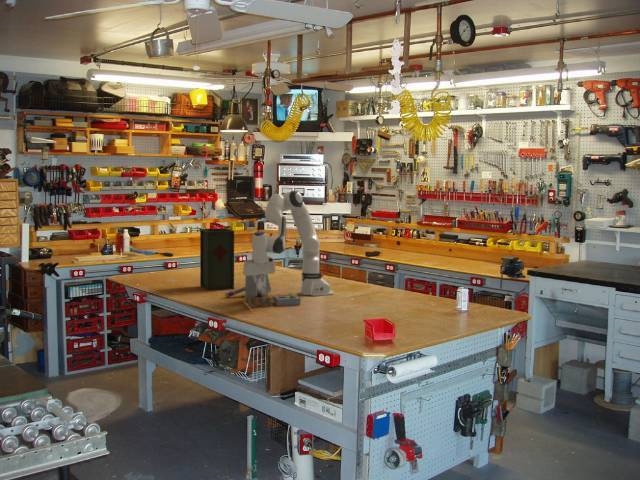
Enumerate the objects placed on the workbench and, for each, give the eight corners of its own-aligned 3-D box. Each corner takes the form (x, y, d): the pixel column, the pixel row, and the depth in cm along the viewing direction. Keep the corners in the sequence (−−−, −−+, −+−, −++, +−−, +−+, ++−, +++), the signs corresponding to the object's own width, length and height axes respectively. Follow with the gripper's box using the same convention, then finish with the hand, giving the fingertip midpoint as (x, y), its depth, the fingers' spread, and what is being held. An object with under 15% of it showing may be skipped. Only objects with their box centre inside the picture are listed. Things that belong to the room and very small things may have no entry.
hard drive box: (256, 303, 399) (256, 271, 397) (244, 302, 401) (244, 270, 399) (266, 298, 413) (266, 267, 411) (255, 297, 416) (255, 267, 414)
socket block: (296, 303, 401) (296, 295, 401) (300, 306, 392) (300, 298, 391) (273, 304, 397) (274, 296, 397) (277, 307, 388) (277, 299, 387)
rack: (267, 304, 396) (267, 294, 396) (270, 307, 387) (270, 298, 386) (247, 305, 393) (248, 295, 392) (250, 308, 383) (250, 298, 383)
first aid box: (225, 284, 460) (226, 228, 456) (234, 289, 444) (234, 230, 439) (200, 286, 452) (200, 228, 448) (207, 290, 436) (207, 231, 431)
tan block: (294, 302, 398) (294, 292, 398) (296, 303, 393) (296, 293, 393) (290, 302, 397) (290, 292, 397) (292, 303, 393) (292, 294, 392)
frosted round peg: (260, 295, 391) (259, 275, 390) (263, 295, 388) (262, 275, 388) (255, 295, 389) (255, 275, 388) (258, 296, 386) (258, 276, 386)
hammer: (225, 285, 408) (266, 270, 423) (220, 283, 415) (261, 268, 430) (231, 308, 412) (271, 292, 427) (225, 305, 418) (266, 290, 433)
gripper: (246, 260, 378) (246, 284, 380) (276, 258, 390) (276, 281, 391) (241, 259, 383) (241, 282, 385) (271, 257, 395) (271, 279, 397)
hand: (259, 282), depth 388 cm, fingers closed on frosted round peg, 3 cm apart
